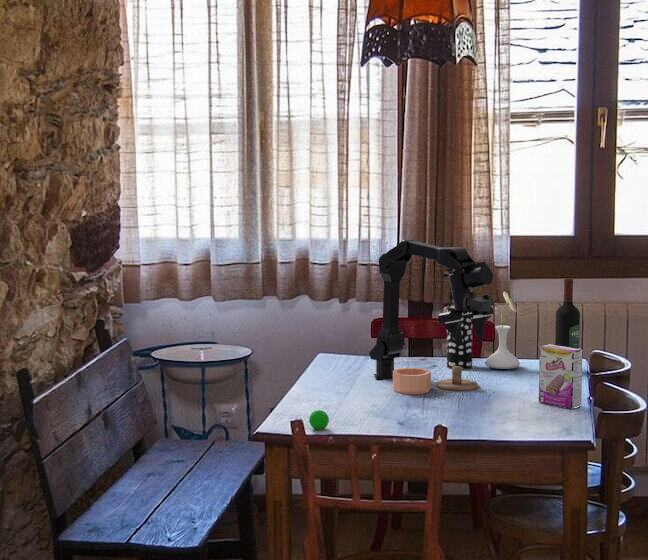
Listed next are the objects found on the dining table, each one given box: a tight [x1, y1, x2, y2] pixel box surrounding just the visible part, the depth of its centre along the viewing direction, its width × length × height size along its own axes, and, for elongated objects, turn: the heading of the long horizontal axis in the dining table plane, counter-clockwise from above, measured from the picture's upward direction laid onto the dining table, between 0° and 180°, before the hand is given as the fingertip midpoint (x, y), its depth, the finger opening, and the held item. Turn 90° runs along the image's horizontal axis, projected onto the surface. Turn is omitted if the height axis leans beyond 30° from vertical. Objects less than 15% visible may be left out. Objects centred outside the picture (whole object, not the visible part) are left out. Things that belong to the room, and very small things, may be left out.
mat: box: [431, 380, 485, 394], centre depth 307 cm, size 14×14×1 cm
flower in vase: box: [484, 291, 521, 370], centre depth 334 cm, size 13×11×25 cm
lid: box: [436, 366, 478, 391], centre depth 306 cm, size 12×12×6 cm
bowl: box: [392, 367, 432, 395], centre depth 303 cm, size 11×11×6 cm
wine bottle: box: [554, 278, 581, 349], centre depth 326 cm, size 8×8×30 cm
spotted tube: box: [446, 304, 474, 371], centre depth 336 cm, size 8×8×20 cm
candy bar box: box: [538, 343, 583, 409], centre depth 284 cm, size 11×5×16 cm, turn 44°
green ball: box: [308, 409, 330, 431], centre depth 262 cm, size 5×5×5 cm
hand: (471, 343), depth 295 cm, fingers open, 9 cm apart
